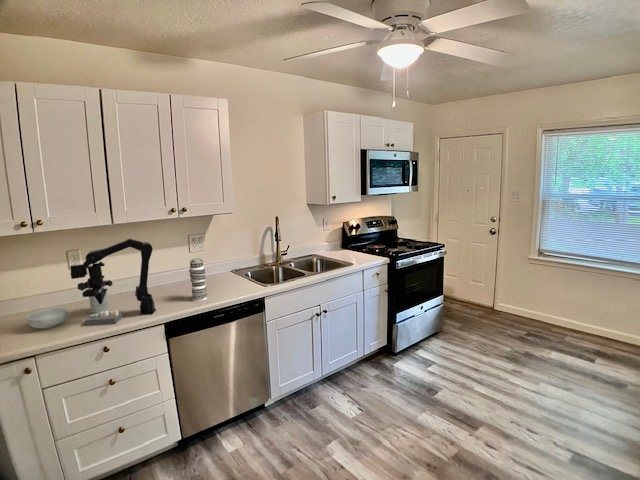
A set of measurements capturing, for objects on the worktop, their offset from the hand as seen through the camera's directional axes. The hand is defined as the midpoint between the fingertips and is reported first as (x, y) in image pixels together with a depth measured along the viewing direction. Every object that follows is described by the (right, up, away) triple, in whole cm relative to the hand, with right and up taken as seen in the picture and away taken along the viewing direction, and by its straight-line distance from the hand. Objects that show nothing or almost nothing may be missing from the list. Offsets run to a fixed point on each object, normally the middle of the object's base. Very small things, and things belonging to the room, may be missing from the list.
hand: (100, 303), depth 188 cm
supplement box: (-10, -7, +16) cm, 20 cm away
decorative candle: (+42, -3, +32) cm, 52 cm away
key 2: (+6, -7, +2) cm, 9 cm away
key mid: (+1, -7, +1) cm, 7 cm away
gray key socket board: (+1, -9, +2) cm, 10 cm away
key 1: (-4, -8, +1) cm, 9 cm away
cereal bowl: (-25, -11, -2) cm, 28 cm away
